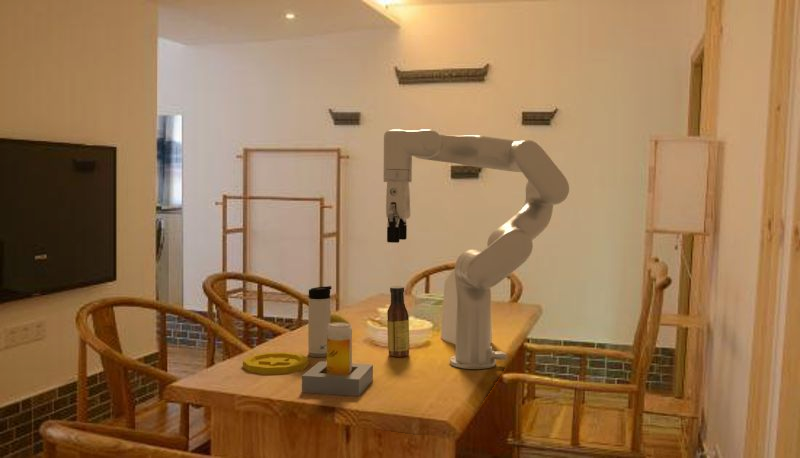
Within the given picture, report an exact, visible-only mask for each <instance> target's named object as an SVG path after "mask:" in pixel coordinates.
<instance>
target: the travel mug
mask: <svg viewBox="0 0 800 458" xmlns="http://www.w3.org/2000/svg"><path fill="white" fill-rule="evenodd" d="M332 289H333V287H332V285H328V286H327V285H326V286H316V287H313V288H310V289H308V308H307V309H308V311H307V312H308V318H307V319H308V325H307V327H308V328H307V329H308V336H307V337H308V341H307V343H308V345H307V346H308V353H307V354H308V356H309V357H312V358H327V328H328V326H329V324H330V315H331V290H332Z"/></svg>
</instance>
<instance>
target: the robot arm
mask: <svg viewBox="0 0 800 458" xmlns="http://www.w3.org/2000/svg"><path fill="white" fill-rule="evenodd" d="M413 157H415V158H416V159H419V160H420V159H421V160H426V161H435V162H443V163H449V164H457V165H462V166H466V167H474V168H475V167H476V168H484V169H491V170H498V171H504V172H505V171H506V172H513V173H522V174H523V176H524V177H525V178H526V180H527V183H526V186H525V200H524V203H523V206H522V207H521V209H519V211H518V212H516V213H515V214H514V215H513V216H512V217H511V218H509V219H507V220H506V222H504V223H503V224H502V225H500V226H499V227H497V228H495V230H494V231H492V232H491V234H490V235H489V237H488V239H487V241H486V243H487V247H485V248H484V249H483V250H478V249H468V250H466V251H463V252H462V253H461V254H460V255H459V256H458V257H457V259H456V261H455V265H454V269H455V281H456V345H455V355H453V356H452V357H450V358H449V364H450V365H451V366H452V367H456V368H459V369H467V370H485V369H491V368H493V367H495V365H496V362H497V361H496V360H499V361H507V353H506V352H503V351H494V350H493V346H492V345H491V343H490V327H491V328H492V291H491V288H493V287H496V286H497V285H498V284H499V283H501V282H502V281H503V280H505V279H506V278H507V277H508V276H510V275H511V274H512V273H513V272H515V271H516V270H517V269H519V267H521V266H522V265H523V264H524V263H525V262H526V261H527V260H528V259H529V258H530V256H531V254H532V252H533V247H534V246H533V244H534V243H533V241H534V240H535V239H536V238H537V237H538V236H539V235H541V234H542V232H544V230H545V229H546V228H547V227H548V225H549V224H550V221H551V219H552V215H553V211H554V210H553V209H554V205H559V204H561V203H563V202H564V201H566V199H568V198H567V197H568V195H569V193H570V184H569V182H568V179H567V178H566V176H565V175H564V173H562V171H561V170H560V169H559V168H558V166H557V165H556V163H555V162H554V161H553V159H551V157H550V156H549V155H548V153H547V152H546V151H545V150H544V149H543V147H542V146H541V145H539V144H538V143H537V142H535V141H534V140H530V139H523V140H514V139H506V138H500V137H499V138H498V137H492V136H486V135H477V134H475V135H474V134H471V135H447V134H439V132H437V131H436V130H434V129H433V130H432V129H420V130H405V129H391V130H386V131H385V133H384V135H383V183H386V197H385V198H386V199H385V203H386V204H385V206H386V207H385V212H386V213H385V215H386V219H387V225H386V226H387V227H386V241H387V243H392V244H393V243H397V244H398V243H400V240H407V235H408V234H407V233H408V232H407V230H408V228H407V227H408V225H407V220H408V219H409V218H410V217H411V196H410V195H411V194H410V193H411V192H410V183H412V181H413V179H412V177H413V175H412V174H413V172H412V171H413Z"/></svg>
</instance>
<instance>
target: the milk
mask: <svg viewBox="0 0 800 458" xmlns="http://www.w3.org/2000/svg"><path fill="white" fill-rule="evenodd" d="M443 289H444V290H443V298H442V299H443V301H442V314H441V327H440V329H441V330H440V339H441V340H443V341H445V342H447V343H450V344H452V345H455V346H456V281H455V268H453V270H452V271H451V272H450V273H449V274H448V276H447V277H446V279H445V281H444V287H443ZM492 334H493V333H492V326H491V327H490V344H492V343H493V341H492V340H493V339H492V338H493V337H492V336H493V335H492Z"/></svg>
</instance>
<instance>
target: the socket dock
mask: <svg viewBox="0 0 800 458" xmlns="http://www.w3.org/2000/svg"><path fill="white" fill-rule="evenodd" d="M373 380H374V364H370V363H368V364H367V363H355V362H352V373H351V374H350V375H340V374H327V361H323V360H320V361H319V362H317V363H316V364H315V365H313V366H311V368H310V369H309V370H307V371H306V372H304V373H303V374H301V393H305V394H306V393H308V394H319V395H320V394H321V395H322V394H324V395H334V396H335V395H337V396H350V397H351V396H352V397H360V396H361V394H363V392H364V391H366V389H367V388H368V387H369V385H371V383H372V381H373Z"/></svg>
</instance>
